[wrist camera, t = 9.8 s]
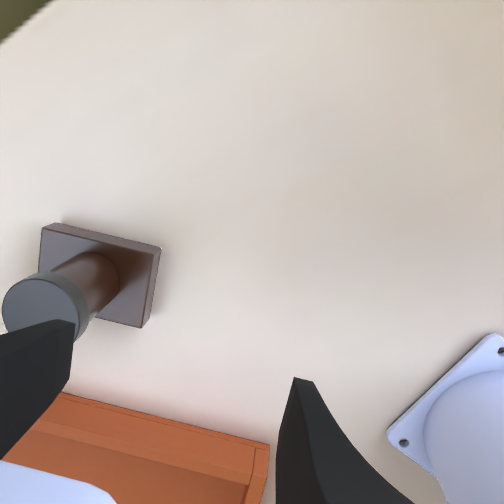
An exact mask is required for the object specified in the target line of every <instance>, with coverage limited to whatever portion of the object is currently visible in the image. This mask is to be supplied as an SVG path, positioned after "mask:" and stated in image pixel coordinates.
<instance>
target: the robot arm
mask: <svg viewBox="0 0 504 504" xmlns="http://www.w3.org/2000/svg"><path fill="white" fill-rule="evenodd" d="M75 326H76V323H73V322H69V321H65V320H61V319H54V320H49V321H46V322H42V323H39V324H35V325H32V326H29V327H25V328H22V329H19V330H16V331H12V332H9V333H6V334H2V335H0V504H117V503H116V502H115V501H114V499H113V498H112V497H111V496H110V494H109V493H108V492H106V491H104V490H102V489H100V488H98V487H96V486H94V485H92V484H90V483H86V482H82V481H78V480H74V479H70V478H67V477H63V476H59V475H55V474H51V473H48V472H44V471H40V470H36V469H32V468H28V467H25V466H21V465H17V464H13V463H9V462H5V461H2V459H3V457H4V456H5V455H6V454H7V453H8V452H9V451H10V450H11V448H12V447H13V446H14V445H15V444H16V443H17V442H18V441H19V440H20V439H21V438H22V436H23V435H24V434H25V433H26V432H27V431H28V430H29V429H30V428H31V427H32V426H33V424H34V423H35V422H36V421H37V420H38V419H39V418H40V417H41V416H42V414H43V413H44V412H45V411H46V410H47V409H48V408H49V407H50V405H51V404H52V403H53V402H54V400H55V399H56V397H57V396H58V395H59V393H60V392H61V390H62V389H63V387H64V386H65V384H66V383H67V381H68V380H69V377H70V369H71V360H72V351H73V343H74V334H75ZM501 347H504V338H503V337H501V336H500V335H498V334H494V333H492V334H488V335H487V336H485V337H484V338H483V339H482V340H481V341H480V342H479V343H478V344H477V345H476V346H475V347H474V348H473V349H472V350H471V351H469V352H468V353H467V354H466V355H465V356H464V357H463V358H462V359H461V360H460V361H459V362H458V363H457V364H456V365H455V366H454V367H453V368H452V369H450V370H449V371H448V372H447V373H446V374H445V375H444V376H443V377H442V378H441V379H440V380H439V381H438V382H437V383H436V384H435V385H434V386H433V387H431V388H430V389H429V390H428V391H427V392H426V393H425V394H424V395H423V396H422V397H421V398H420V399H419V400H418V401H417V402H416V403H415V404H414V405H412V406H411V407H410V408H409V409H408V410H407V411H406V412H405V413H404V414H403V415H402V416H401V417H400V418H399V419H398V420H397V421H396V422H395V423H394V424H392V425H391V426H390V427H389V428H388V430H387V431H386V436H387V440H388V442H389V443H390V444H392V445H393V446H394V447H396V448H397V449H398V450H400V451H401V452H402V453H404V454H405V455H406V456H408V457H409V458H410V459H412V460H413V461H414V462H416V463H417V464H418V465H420V466H421V467H422V468H424V469H425V470H426V471H428V472H429V473H430V474H432V475H433V476H434V477H436V478H437V479H438V482H439V484H440V487H441V489H442V492H443V494H444V497H445V499H446V502H447V504H504V351H503V352H502V353H498V350H499V348H501ZM402 439H406V440H407V441H406V442H404V443H401V442H400V440H402ZM276 504H414V503H413V502H412V501H411V500H409V499H408V498H407V497H405V496H404V495H403V494H402V493H400V492H399V491H398V490H397V489H396V488H394V487H393V486H392V485H391V484H390V483H389V482H388V481H386V480H385V479H384V478H383V477H382V476H381V475H380V474H379V473H378V472H377V471H376V470H375V469H374V468H373V467H372V466H371V465H370V464H369V463H368V462H367V461H366V460H365V459H364V457H363V456H362V455H361V454H360V453H359V452H358V451H357V450H356V448H355V447H354V446H353V445H352V443H351V442H350V441H349V439H348V438H347V437H346V435H345V434H344V433H343V431H342V430H341V428H340V427H339V426H338V424H337V423H336V421H335V419H334V418H333V416H332V415H331V413H330V411H329V410H328V408H327V406H326V404H325V403H324V401H323V399H322V397H321V395H320V393H319V392H318V390H317V388H316V386H315V384H314V383H313V382H312V381H308V380H304V379H300V378H296V377H294V379H293V383H292V386H291V390H290V394H289V397H288V401H287V405H286V408H285V412H284V415H283V419H282V423H281V426H280V430H279V437H278V445H277V453H276Z"/></svg>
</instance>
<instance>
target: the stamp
mask: <svg viewBox="0 0 504 504" xmlns="http://www.w3.org/2000/svg"><path fill="white" fill-rule="evenodd" d="M160 253H161V248H160V247H156V246H152V245H148V244H144V243H140V242H136V241H131V240H127V239H123V238H119V237H115V236H111V235H107V234H102V233H98V232H94V231H90V230H86V229H82V228H77V227H73V226H69V225H65V224H61V223H53V224H50V225H47V226H45V227H42V232H41V243H40V254H39V265H38V273H35V274H33V275H30V276H29V277H27V278H25V279H23V280H21V281H20V282H18V283H16V284H15V285H13V286H12V287H11V288H10V289H9V290H8V292H7V293H6V295H5V297H4V300H3V304H2V317H3V321H4V324H5V326H6V328H7V330H8V332H12V331H16V330H19V329H22V328H25V327H29V326H32V325H35V324H39V323H42V322H46V321H49V320H54V319H61V320H65V321H69V322H73V323H76V326H75V334H74V342H75V341H76V340H77V339H78V338H79V337H80V336H81V335H82V334H83V333H84V332H85V330H86V328H87V325H88V322H89V321H90V320H91V319H93V318H94V317H96V318H100V319H104V320H108V321H112V322H116V323H121V324H125V325H129V326H133V327H137V328H142V327H143V326H144V324H145V323H146V322H147V321H148V319H149V317H150V312H151V306H152V300H153V294H154V288H155V282H156V276H157V270H158V265H159V259H160Z"/></svg>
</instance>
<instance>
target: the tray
mask: <svg viewBox="0 0 504 504" xmlns="http://www.w3.org/2000/svg"><path fill="white" fill-rule="evenodd" d="M269 450H270V445H267V444H263V443H259V442H255V441H251V440H247V439H243V438H239V437H236V436H232V435H228V434H224V433H220V432H216V431H212V430H208V429H204V428H200V427H196V426H192V425H188V424H184V423H180V422H176V421H173V420H169V419H165V418H161V417H157V416H153V415H149V414H145V413H141V412H137V411H133V410H129V409H125V408H121V407H117V406H113V405H110V404H106V403H102V402H98V401H94V400H90V399H86V398H82V397H78V396H74V395H70V394H66V393H62V392H60V393H59V395H58V396H57V397H56V399H55V400H54V402H53V403H52V404H51V405H50V407H49V408H48V409H47V410H46V411H45V412H44V413H43V414H42V416H41V417H40V418H39V419H38V420H37V421H36V422H35V423H34V424H33V426H32V427H31V428H30V429H29V430H28V431H27V432H26V433H25V434H24V435H23V436H22V438H21V439H20V440H19V441H18V442H17V443H16V444H15V445H14V446H13V447H12V448H11V450H10V451H9V452H8V453H7V454H6V455H5V456H4V457H3V459H2V461H5V462H9V463H13V464H17V465H21V466H25V467H28V468H32V469H36V470H40V471H44V472H48V473H51V474H55V475H59V476H63V477H67V478H70V479H74V480H78V481H82V482H86V483H90V484H92V485H94V486H96V487H98V488H100V489H102V490H104V491H106V492H108V493H109V494H110V496H111V497H112V498H113V499H114V501H115V502H116V503H117V504H260V501H261V497H262V494H263V490H264V487H265V483H266V480H267V473H268V461H269Z"/></svg>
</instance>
